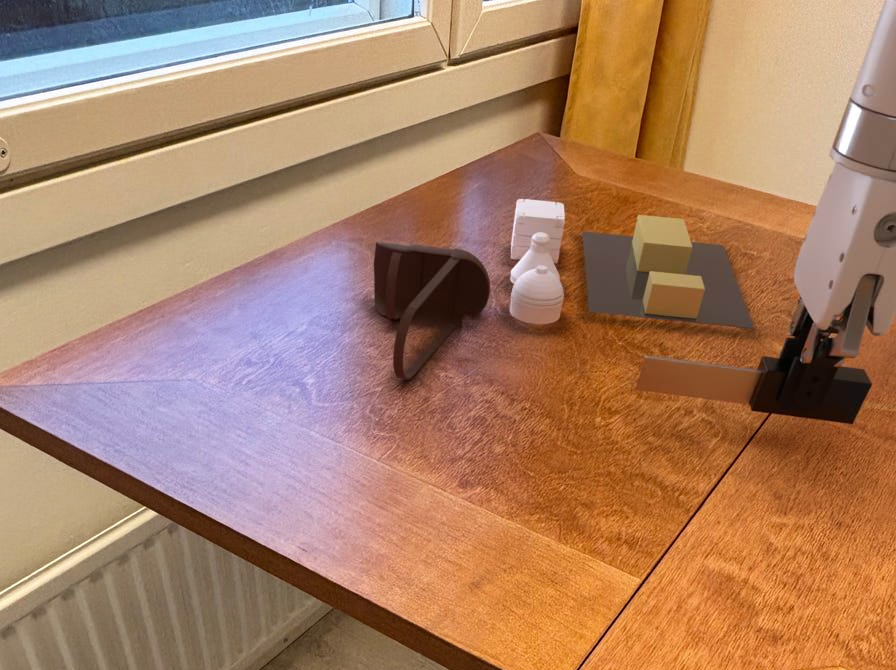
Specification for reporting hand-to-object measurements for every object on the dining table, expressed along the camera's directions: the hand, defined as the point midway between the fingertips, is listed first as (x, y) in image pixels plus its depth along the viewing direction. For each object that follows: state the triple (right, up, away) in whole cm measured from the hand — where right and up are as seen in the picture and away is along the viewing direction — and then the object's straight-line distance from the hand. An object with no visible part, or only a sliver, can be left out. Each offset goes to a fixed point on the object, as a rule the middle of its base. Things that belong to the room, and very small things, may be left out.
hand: (794, 396), depth 70 cm
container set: (-18, +17, +22) cm, 32 cm away
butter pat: (-5, +13, +18) cm, 23 cm away
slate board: (-4, +18, +24) cm, 31 cm away
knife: (-3, 0, +1) cm, 3 cm away
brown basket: (-30, +7, +11) cm, 33 cm away
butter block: (-4, +22, +27) cm, 35 cm away
